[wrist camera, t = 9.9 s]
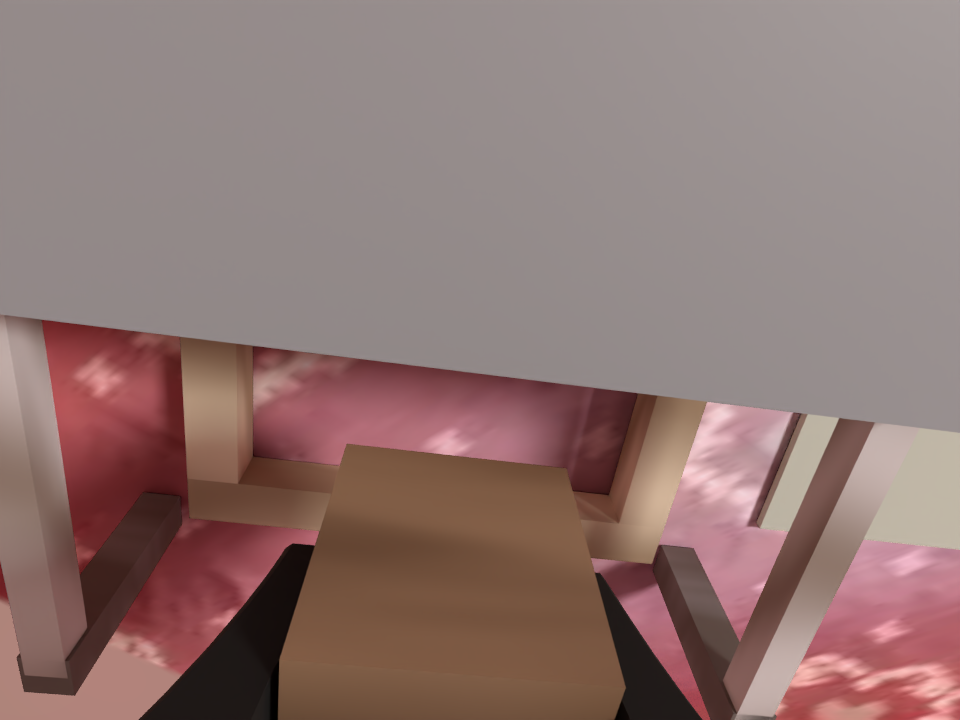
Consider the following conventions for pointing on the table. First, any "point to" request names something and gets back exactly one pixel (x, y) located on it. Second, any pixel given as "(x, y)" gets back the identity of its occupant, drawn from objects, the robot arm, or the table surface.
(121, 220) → the sliding cover
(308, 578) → the walnut block
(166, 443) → the table surface
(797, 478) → the rubber mat
